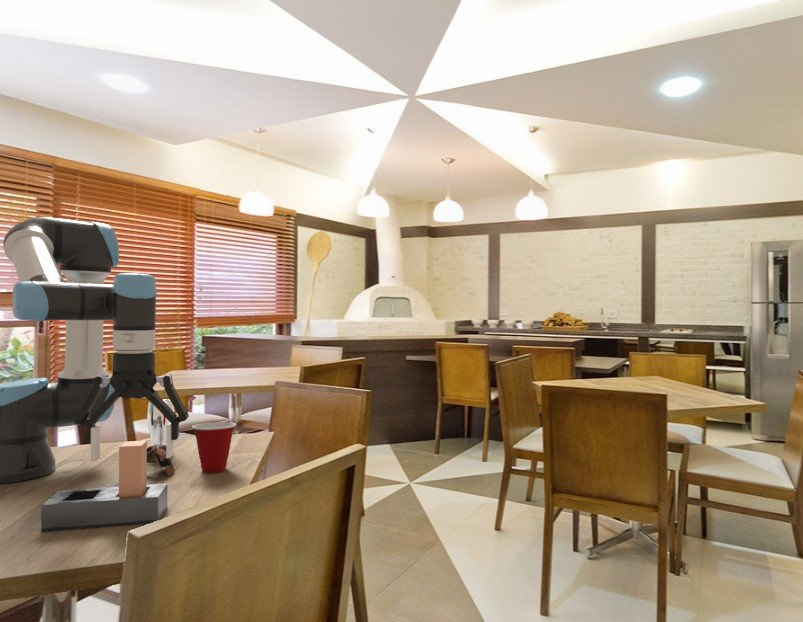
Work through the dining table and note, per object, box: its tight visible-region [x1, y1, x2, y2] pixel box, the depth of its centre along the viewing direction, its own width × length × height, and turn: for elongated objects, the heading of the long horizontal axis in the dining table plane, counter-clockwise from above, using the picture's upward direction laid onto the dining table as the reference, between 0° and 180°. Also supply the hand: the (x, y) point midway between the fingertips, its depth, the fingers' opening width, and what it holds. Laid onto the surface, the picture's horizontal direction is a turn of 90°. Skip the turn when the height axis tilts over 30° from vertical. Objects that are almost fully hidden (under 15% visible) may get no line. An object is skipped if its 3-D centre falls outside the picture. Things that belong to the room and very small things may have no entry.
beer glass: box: [147, 399, 175, 449], centre depth 147 cm, size 7×7×15 cm
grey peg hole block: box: [40, 482, 168, 533], centre depth 101 cm, size 20×8×5 cm, turn 103°
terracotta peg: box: [118, 440, 148, 497], centre depth 102 cm, size 4×4×14 cm
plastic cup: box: [191, 421, 237, 474], centre depth 132 cm, size 11×11×12 cm
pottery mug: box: [147, 445, 175, 478], centre depth 129 cm, size 12×10×8 cm
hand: (133, 457), depth 102 cm, fingers open, 13 cm apart
